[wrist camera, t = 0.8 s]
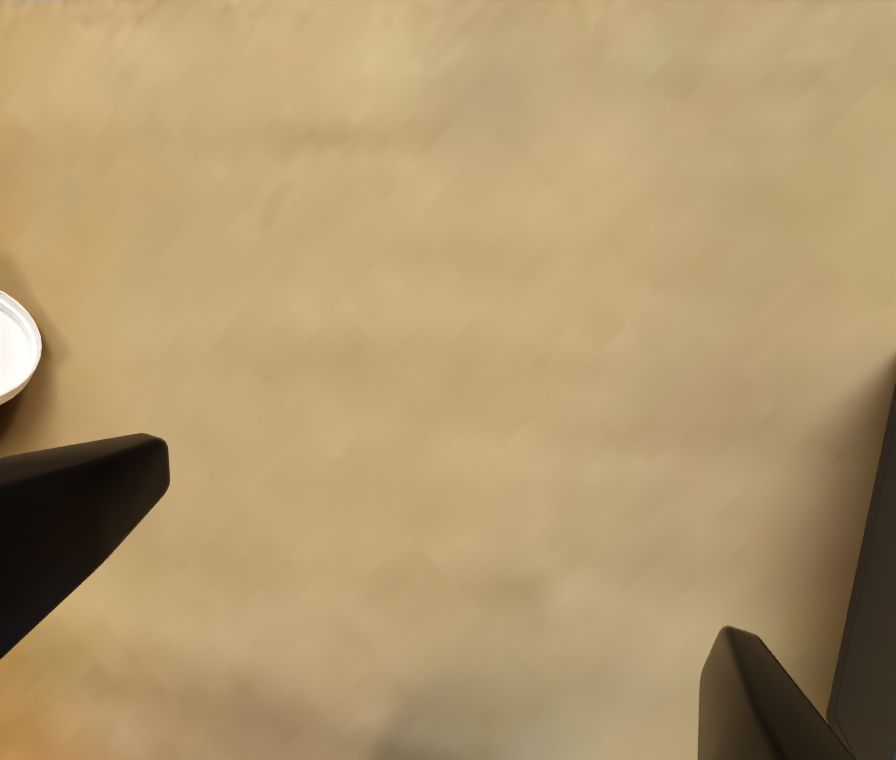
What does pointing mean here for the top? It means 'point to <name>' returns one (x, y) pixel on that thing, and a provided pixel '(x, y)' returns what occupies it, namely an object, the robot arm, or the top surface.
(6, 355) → the spread jar
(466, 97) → the top surface
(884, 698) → the basket
